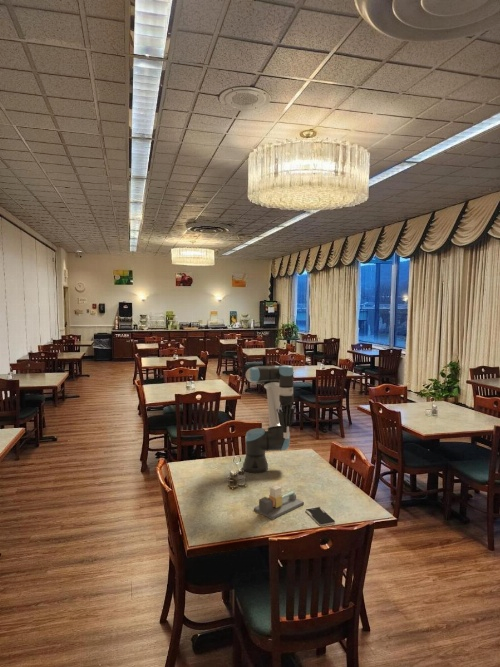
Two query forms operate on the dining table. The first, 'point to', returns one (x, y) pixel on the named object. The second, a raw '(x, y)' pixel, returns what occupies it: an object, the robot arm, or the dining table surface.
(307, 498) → the dining table surface
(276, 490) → the sleeve
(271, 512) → the comb base
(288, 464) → the dining table surface
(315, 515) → the smartphone
